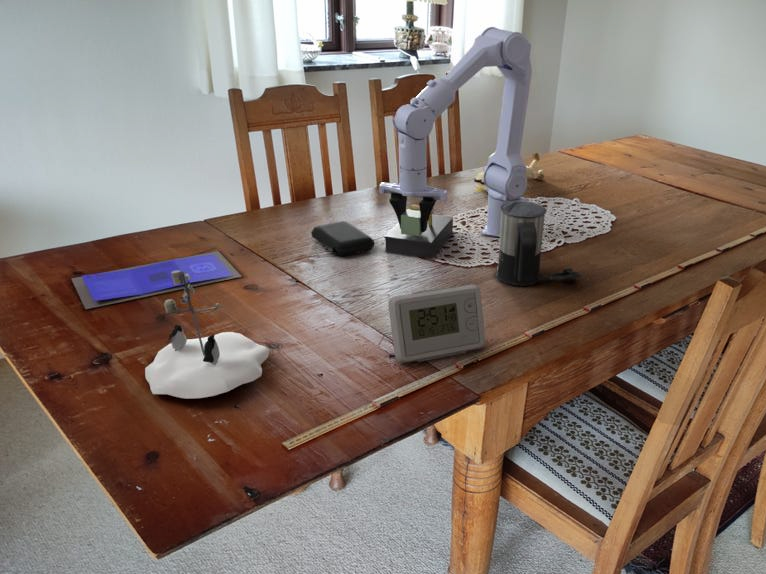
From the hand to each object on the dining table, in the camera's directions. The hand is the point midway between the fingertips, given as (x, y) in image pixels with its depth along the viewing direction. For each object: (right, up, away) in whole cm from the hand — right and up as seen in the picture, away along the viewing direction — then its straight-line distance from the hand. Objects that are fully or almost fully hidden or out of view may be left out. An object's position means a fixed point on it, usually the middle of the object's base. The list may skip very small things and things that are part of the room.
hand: (413, 229), depth 149 cm
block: (0, -1, 0) cm, 1 cm away
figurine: (-28, -30, -42) cm, 59 cm away
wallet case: (+1, -2, +7) cm, 7 cm away
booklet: (-49, -13, -15) cm, 52 cm away
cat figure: (+22, +21, +46) cm, 55 cm away
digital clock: (+7, -27, -34) cm, 44 cm away
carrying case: (-16, -3, +3) cm, 17 cm away
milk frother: (+26, -12, -8) cm, 30 cm away
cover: (+1, +1, +5) cm, 5 cm away
